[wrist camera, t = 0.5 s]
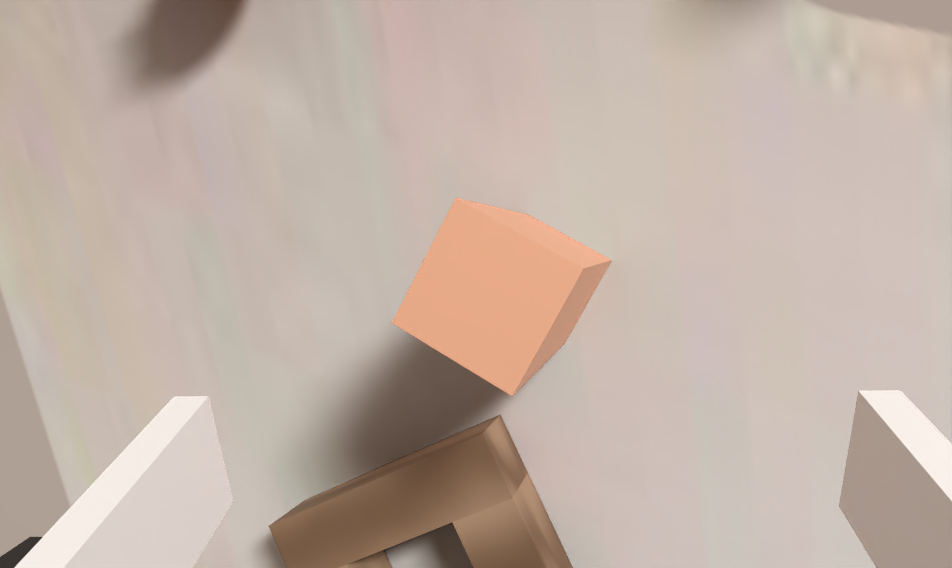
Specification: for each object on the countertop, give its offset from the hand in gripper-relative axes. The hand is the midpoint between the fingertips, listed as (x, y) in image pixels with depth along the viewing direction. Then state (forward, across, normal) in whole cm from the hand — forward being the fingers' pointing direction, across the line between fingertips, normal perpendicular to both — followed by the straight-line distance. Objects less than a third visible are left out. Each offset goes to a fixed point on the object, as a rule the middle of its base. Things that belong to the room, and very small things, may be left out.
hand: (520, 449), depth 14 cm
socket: (+15, +5, +18) cm, 24 cm away
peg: (+19, -1, +4) cm, 19 cm away
